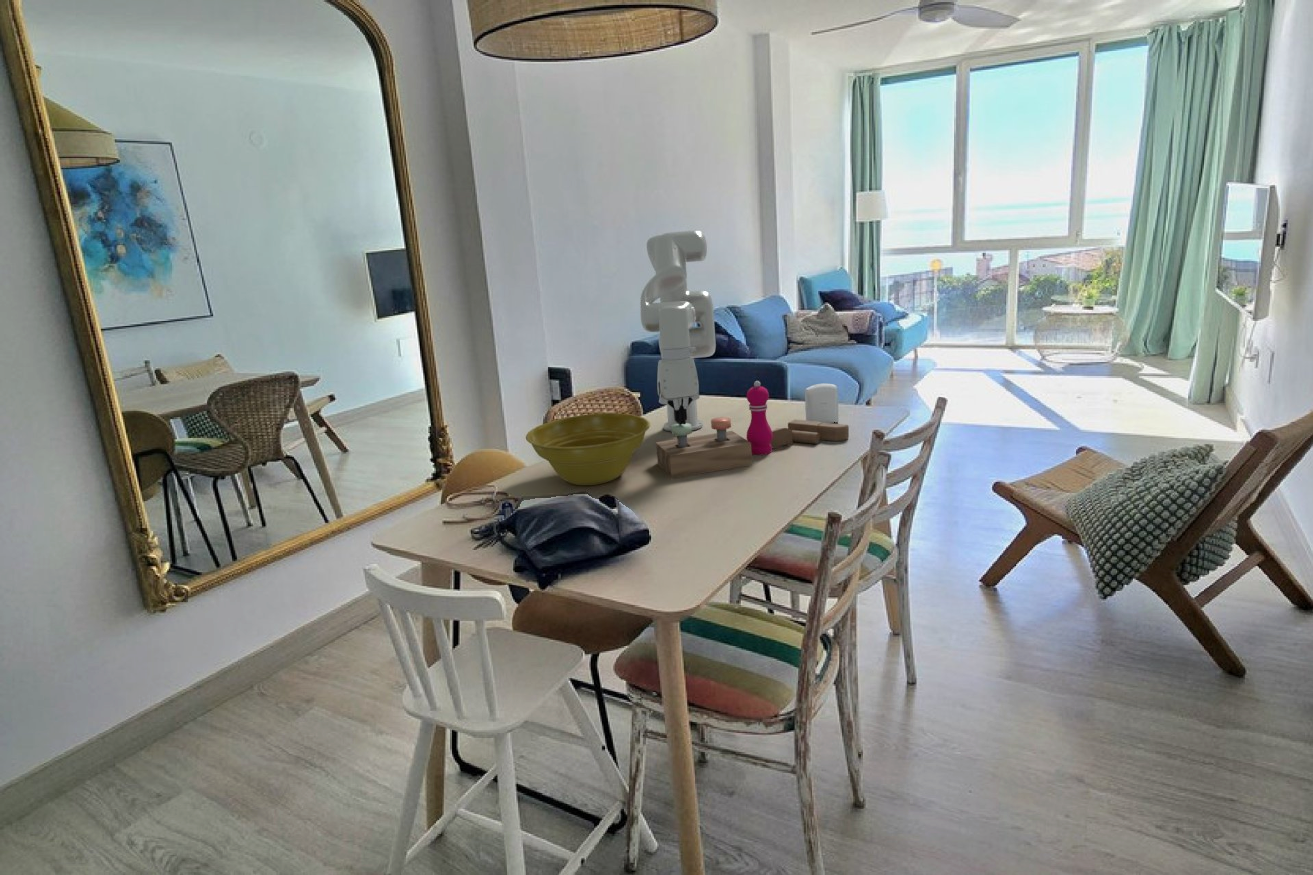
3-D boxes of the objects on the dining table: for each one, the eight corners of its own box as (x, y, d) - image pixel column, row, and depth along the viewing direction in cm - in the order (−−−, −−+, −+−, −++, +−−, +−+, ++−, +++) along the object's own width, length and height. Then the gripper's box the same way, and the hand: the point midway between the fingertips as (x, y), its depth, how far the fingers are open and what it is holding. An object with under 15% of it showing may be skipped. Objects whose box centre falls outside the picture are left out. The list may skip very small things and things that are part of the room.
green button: (671, 451, 201) (669, 424, 199) (689, 449, 202) (687, 422, 200) (676, 456, 196) (674, 429, 194) (695, 453, 197) (693, 426, 195)
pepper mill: (772, 455, 204) (769, 383, 199) (746, 455, 206) (742, 384, 200) (774, 447, 211) (771, 377, 206) (748, 448, 212) (744, 378, 207)
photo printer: (808, 427, 229) (807, 387, 226) (803, 423, 233) (802, 384, 230) (840, 423, 230) (840, 383, 227) (835, 419, 234) (834, 381, 231)
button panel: (657, 463, 205) (655, 442, 204) (733, 451, 211) (732, 430, 209) (671, 478, 192) (670, 455, 191) (752, 464, 197) (750, 443, 196)
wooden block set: (791, 415, 223) (849, 420, 212) (792, 434, 224) (849, 439, 214) (764, 429, 210) (824, 435, 199) (764, 449, 211) (824, 455, 201)
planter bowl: (589, 507, 176) (583, 452, 173) (507, 484, 198) (500, 435, 194) (679, 469, 199) (675, 420, 195) (596, 452, 220) (591, 408, 217)
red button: (710, 445, 203) (708, 419, 201) (728, 443, 205) (726, 416, 203) (716, 450, 199) (714, 423, 197) (734, 447, 200) (733, 420, 198)
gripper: (699, 348, 197) (703, 416, 202) (644, 355, 194) (650, 424, 199) (708, 352, 190) (712, 422, 195) (651, 359, 187) (657, 430, 192)
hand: (681, 423), depth 197 cm, fingers closed
